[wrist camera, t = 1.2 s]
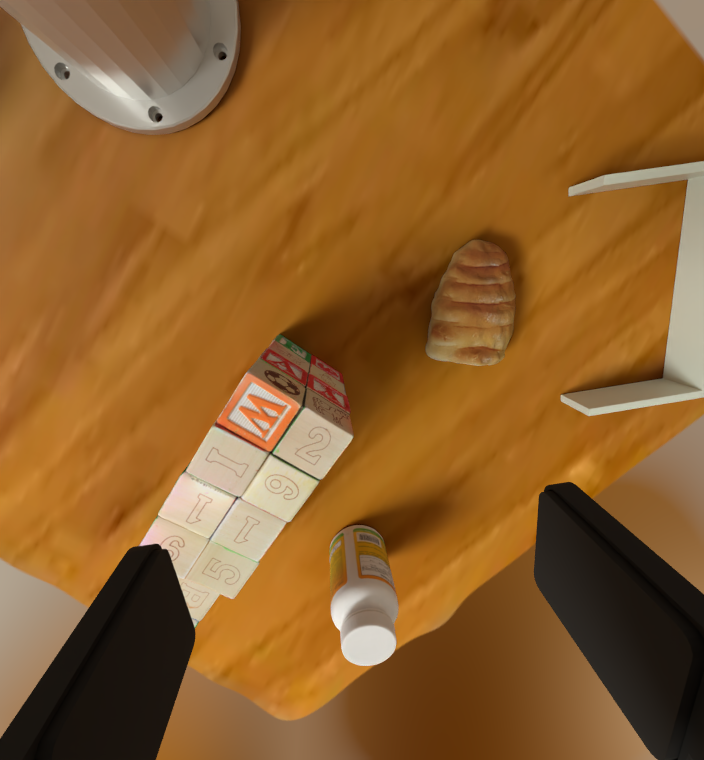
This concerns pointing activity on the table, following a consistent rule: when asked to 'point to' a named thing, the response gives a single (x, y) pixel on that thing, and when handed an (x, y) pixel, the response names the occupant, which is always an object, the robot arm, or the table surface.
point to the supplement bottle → (363, 595)
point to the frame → (689, 306)
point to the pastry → (473, 307)
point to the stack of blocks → (252, 472)
